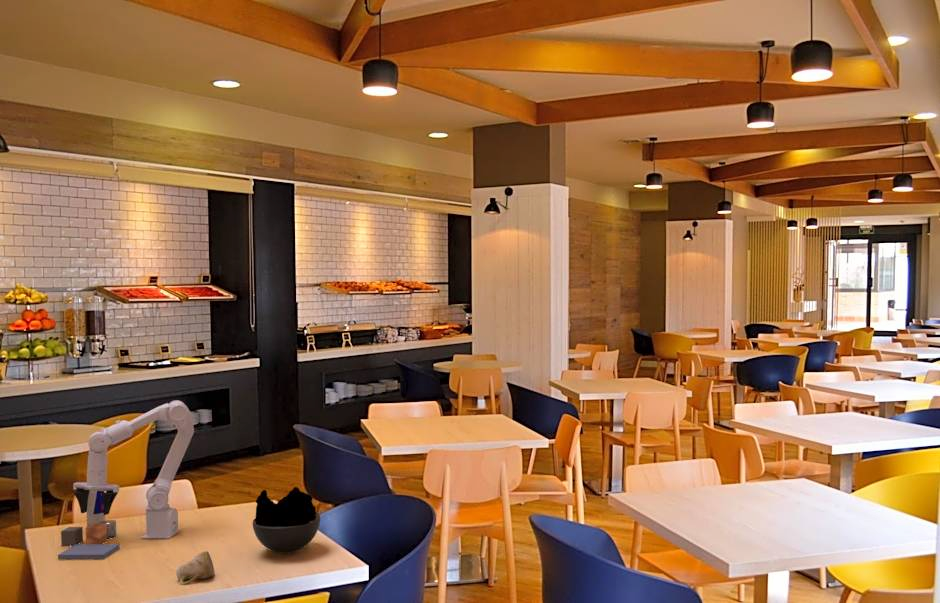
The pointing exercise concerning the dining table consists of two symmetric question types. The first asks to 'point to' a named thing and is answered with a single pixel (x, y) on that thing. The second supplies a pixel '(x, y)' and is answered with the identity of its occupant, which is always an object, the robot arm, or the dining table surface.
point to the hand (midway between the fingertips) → (95, 513)
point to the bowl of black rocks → (286, 521)
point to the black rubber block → (71, 536)
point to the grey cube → (110, 528)
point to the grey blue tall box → (95, 508)
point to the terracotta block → (96, 534)
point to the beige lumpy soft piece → (196, 568)
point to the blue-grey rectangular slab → (89, 551)
